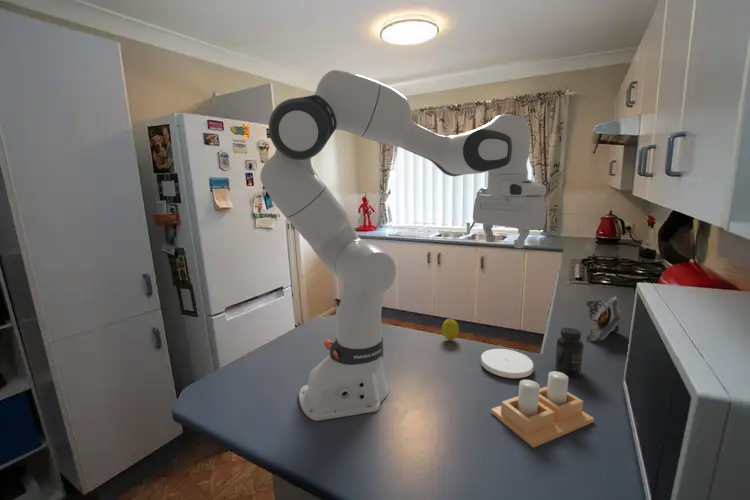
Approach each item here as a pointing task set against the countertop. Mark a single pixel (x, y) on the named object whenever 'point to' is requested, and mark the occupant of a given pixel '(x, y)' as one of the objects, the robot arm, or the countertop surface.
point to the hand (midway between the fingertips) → (503, 244)
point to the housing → (546, 413)
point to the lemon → (450, 329)
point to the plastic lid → (507, 363)
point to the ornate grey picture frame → (603, 318)
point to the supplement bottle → (569, 352)
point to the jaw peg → (528, 397)
